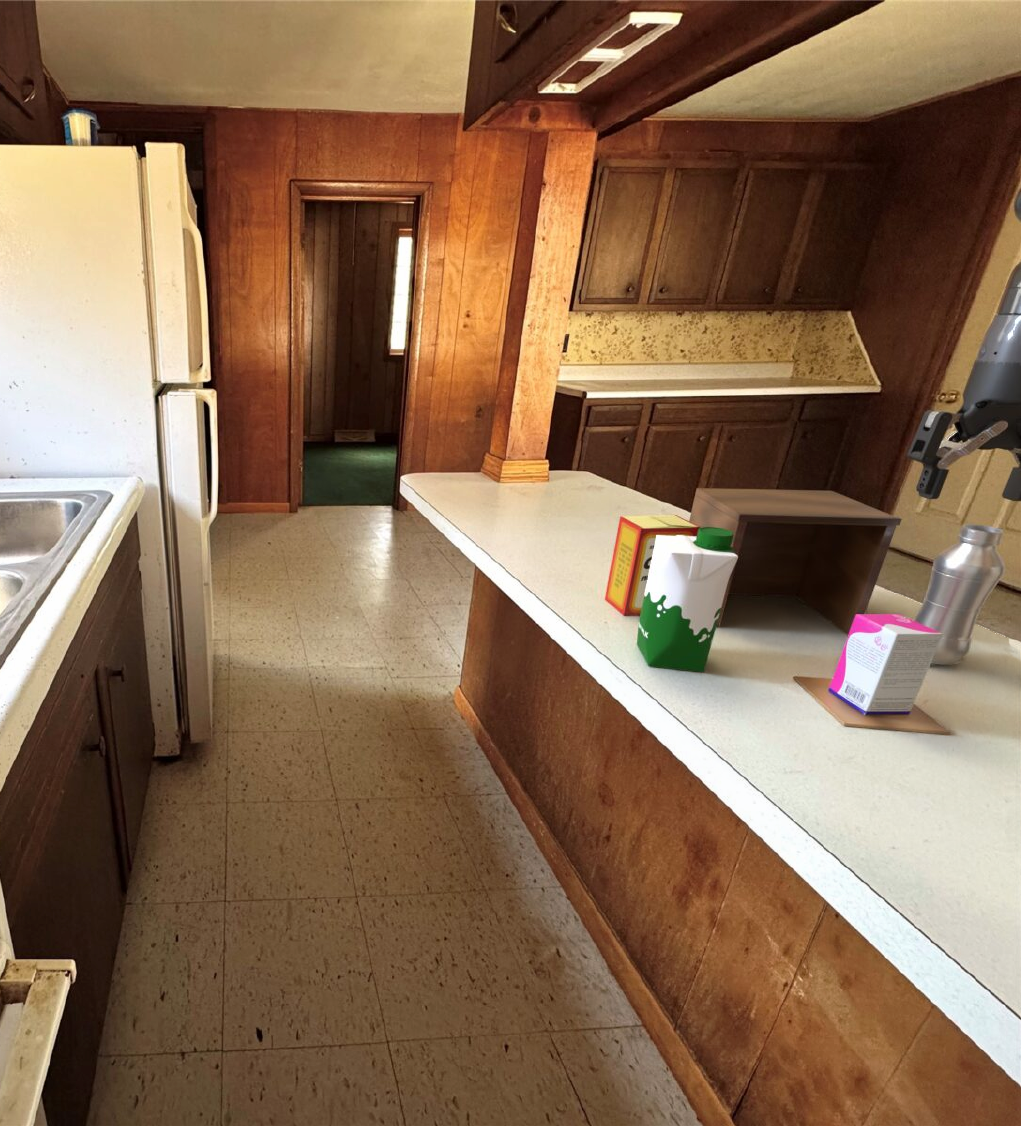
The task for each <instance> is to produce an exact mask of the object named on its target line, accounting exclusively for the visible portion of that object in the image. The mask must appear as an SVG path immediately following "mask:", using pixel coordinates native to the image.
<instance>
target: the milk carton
mask: <svg viewBox="0 0 1021 1126" xmlns="http://www.w3.org/2000/svg"><path fill="white" fill-rule="evenodd" d="M733 536H734V533H733V532H731V531H729V530H726V529H722V528H716V527H702V528H699V530H698V533H697V537H694V536H684V535H676V536H665V535H656V541H655V546H654V551H653V556H652V561H651V565H650V570H649V575H648V580H647V584H646V589H645V594H644V599H643V604H642V609H641V613H640V615H639V620H638V628H637V639H636V645H637V647H638V649H639V651H640V653H641V655H642V657H643V659H644V661H645V663H646V665H647V666H648V667H651V668H652V667H653V668H662V669H671V670H679V671H689V672H698V673H704V672H705V670H706V666H707V663H708V658H709V655H710V651H711V648H712V644H713V641H714V637H715V633H716V629H717V627H716V626H717V622H718V618H719V614H720V610H721V606H722V603H723V599H724V595H725V591H726V587H727V584H728V580H729V577H730V575H731V573H732V570H733V568H734V566H735V563H736V561H737V559H738V556H737V555H736V554H735V552H734V551H733V549H732V547H731V544H732V540H733Z"/></svg>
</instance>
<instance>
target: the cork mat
mask: <svg viewBox="0 0 1021 1126" xmlns="http://www.w3.org/2000/svg"><path fill="white" fill-rule="evenodd" d="M792 679H793V680H794V681H795V682H796V683H797V684H798V685H799V686H801V688H803V689H804V690H805V692H807V693H808V694H809V695H810V696H811V697H812V698H813V699H814V700H816V701H817V703H819V704H820V705H821V706H822V707H823V708H824V709H825V710H826V711H827V712H828V713H829V714H830V715H831V716H832V717H834V718H835V720H836V721H838V722H839V723H840V724H841V725H842V726H844V727H852V728H854V727H855V728H866V729H878V730H888V731H889V730H890V731H900V732H901V731H902V732H912V733H923V734H924V733H925V734H937V735H946V736H947V735H948V736H950V735H951V734H952V732H951V731H950V730H949V729H947V728H946V727H945V726H944V725H943V724H941V723H940V722H938V721H937V720H936V719H935V718H933V717H932V716H931V715H929V714H928V713H927V712H925V711H924V710H923V709H921V708H920V707H919V706H918V705H916V704H915V703H914V705H913V707H912V709H911V712H910V714H908V715H863V714H862V713H860V712H859V711H857V710H856V709H854V708H853V707H851V706H850V705H849V704H847V703H845V702H844V701H842V700H841V699H839V698H838V697H836V696H835V695H833V694H832V693H830V692H829V691H828V689H829V687H830V684H831V681H832V679H833V678H829V677H814V676H813V677H812V676H803V675H801V676H799V675H793V677H792Z"/></svg>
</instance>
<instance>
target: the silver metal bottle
mask: <svg viewBox="0 0 1021 1126" xmlns="http://www.w3.org/2000/svg"><path fill="white" fill-rule="evenodd" d="M1003 535H1004V530H1003V529H1001V528H998V527H994V526H990V525H985V524H984V525H983V524H973V523H967V524H963V526H962V527H961V530H960V532H959V533H958V535H957V537H956V538H957V540H959V541H958V542H956V543H954V544H952V545H951V546H949V547H947V548H945V549H944V550H942V551H941V552H939V554H937V555H936V557H934V559H933V562H932V567H931V572H930V576H929V582H928V586H927V589H926V592H925V596H924V598H923V601H922V604H921V606H920V608H919V609H918V611H917V612H916V614H915V616H914V618H913V619H912V620H913V621H915V622H918V623H920V624H922V625H924V626H926V627H928V628H931V629H933V630H935V631H937V632H939V633H942V634H943V635H942V638H941V640H940V642H939V645H938V647H937V650H936V652H935V654H934V657H933V659H932V662H931V664H934V665H941V666H953V665H956V664H958V663H960V662H963V660H964V659H965V658H966V657H967V655H968V654H969V652H970V649H971V644H972V634H973V632H974V628H975V625H976V622H977V620H978V619H977V618H978V615H979V614H980V611H981V610H982V608H983V607H984V604H985V602H986V601H987V599H988V597H989V596H990V594H991V593H992V592H993V590H994V589H995V587H996V586H997V584H998V583H999V582H1000V580H1001V579H1002V577H1003V576H1004V574H1005V573H1006V565H1005V562H1004V560H1003V558H1002V556H1001V555H1000V552H998V550H997V549H996V548H997V546H998V547H999V546H1000V545H1001V543H1002V538H1003Z"/></svg>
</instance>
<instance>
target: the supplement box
mask: <svg viewBox="0 0 1021 1126" xmlns="http://www.w3.org/2000/svg"><path fill="white" fill-rule="evenodd" d="M913 620H914V619H911V618H908V617H906V616H905V615H902V614H900V613H882V614H881V613H879V614H878V613H877V614H873V613H870V614H869V613H868V614H867V613H865V614H856V615H855V618H854V621H853V624H852V627H851V629H850V632H849V635H848V636H847V638H846V640H845V644H844V646H843V649H842V652H841V653H840V657H839V660H838V663H837V665H836V668H835V671H834V674H833V676H832V678H831V679H832V681H831V684H830V687H829V689H828V691H829V692H830V693H832V694H833V695H835V696H836V697H838V698H839V699H841V700H842V701H844V702H845V703H847V704H849V705H850V706H851V707H853V708H854V709H856V710H857V711H859V712H860V713H862V714H863V715H908V714H910V712H911V709H912V707H913V705H914V704H915V702H916V700H917V698H918V695H919V693H920V690H921V687H922V685H923V683H924V681H925V678H926V676H927V674H928V671H929V669H930V666H931V664H932V663H931V662H932V659H933V657H934V654H935V652H936V650H937V647H938V645H939V642H940V640H941V638H942V635H943V634H942V633H939V632H937V631H935V630H933V629H931V628H928V627H926V626H924V625H922V624H920V623H918V622H915V621H913Z"/></svg>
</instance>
